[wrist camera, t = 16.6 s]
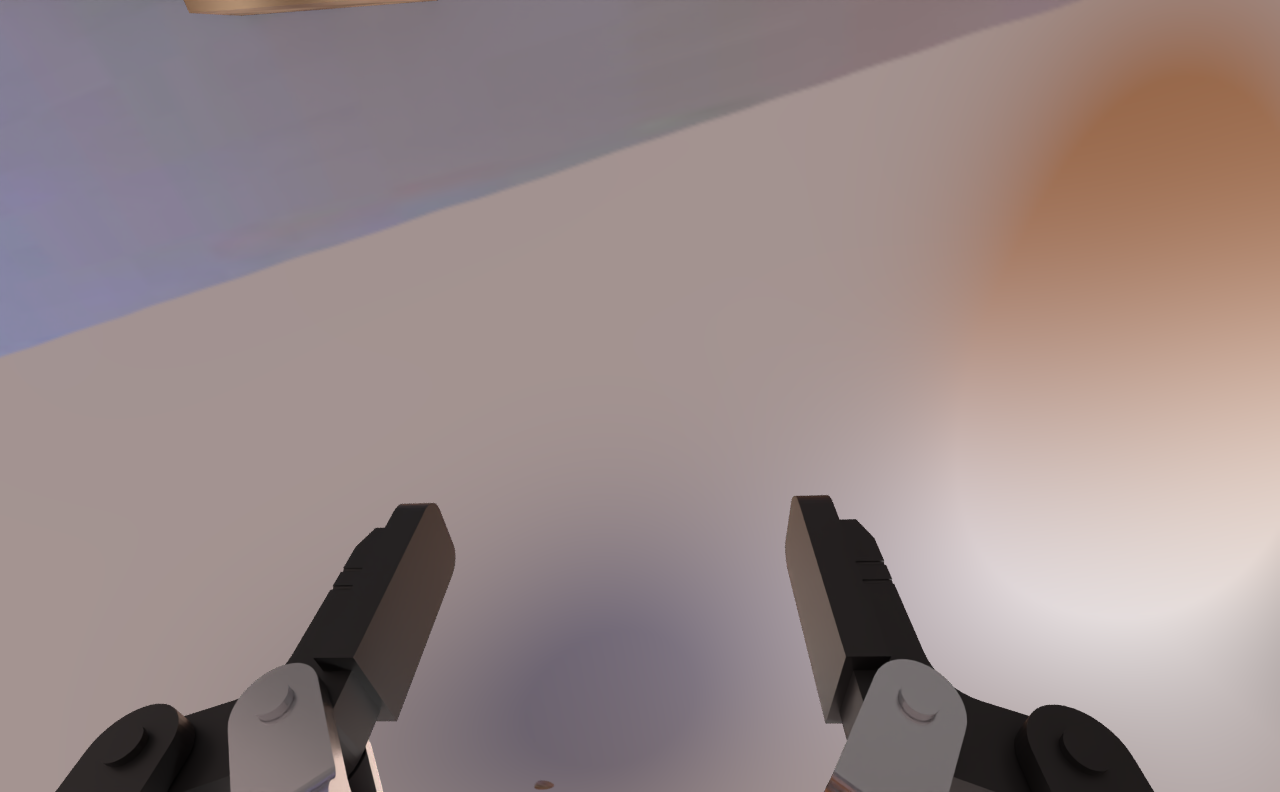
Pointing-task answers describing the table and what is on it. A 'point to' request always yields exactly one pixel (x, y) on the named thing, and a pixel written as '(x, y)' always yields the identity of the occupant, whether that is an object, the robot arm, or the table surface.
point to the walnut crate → (277, 5)
